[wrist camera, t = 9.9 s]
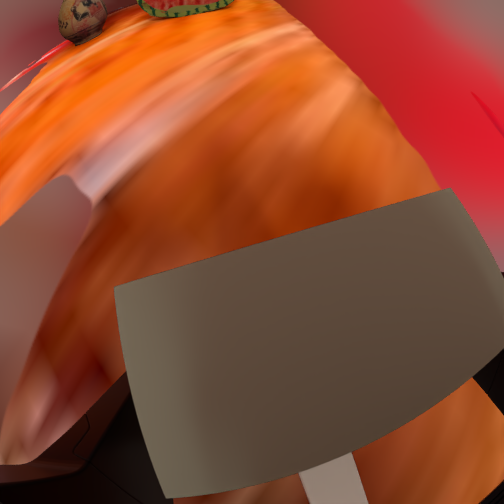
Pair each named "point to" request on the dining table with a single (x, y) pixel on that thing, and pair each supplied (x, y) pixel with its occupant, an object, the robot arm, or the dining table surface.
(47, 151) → the dining table surface
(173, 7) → the fruit slice
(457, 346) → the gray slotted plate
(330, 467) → the white rectangular bar
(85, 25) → the ceramic jug
